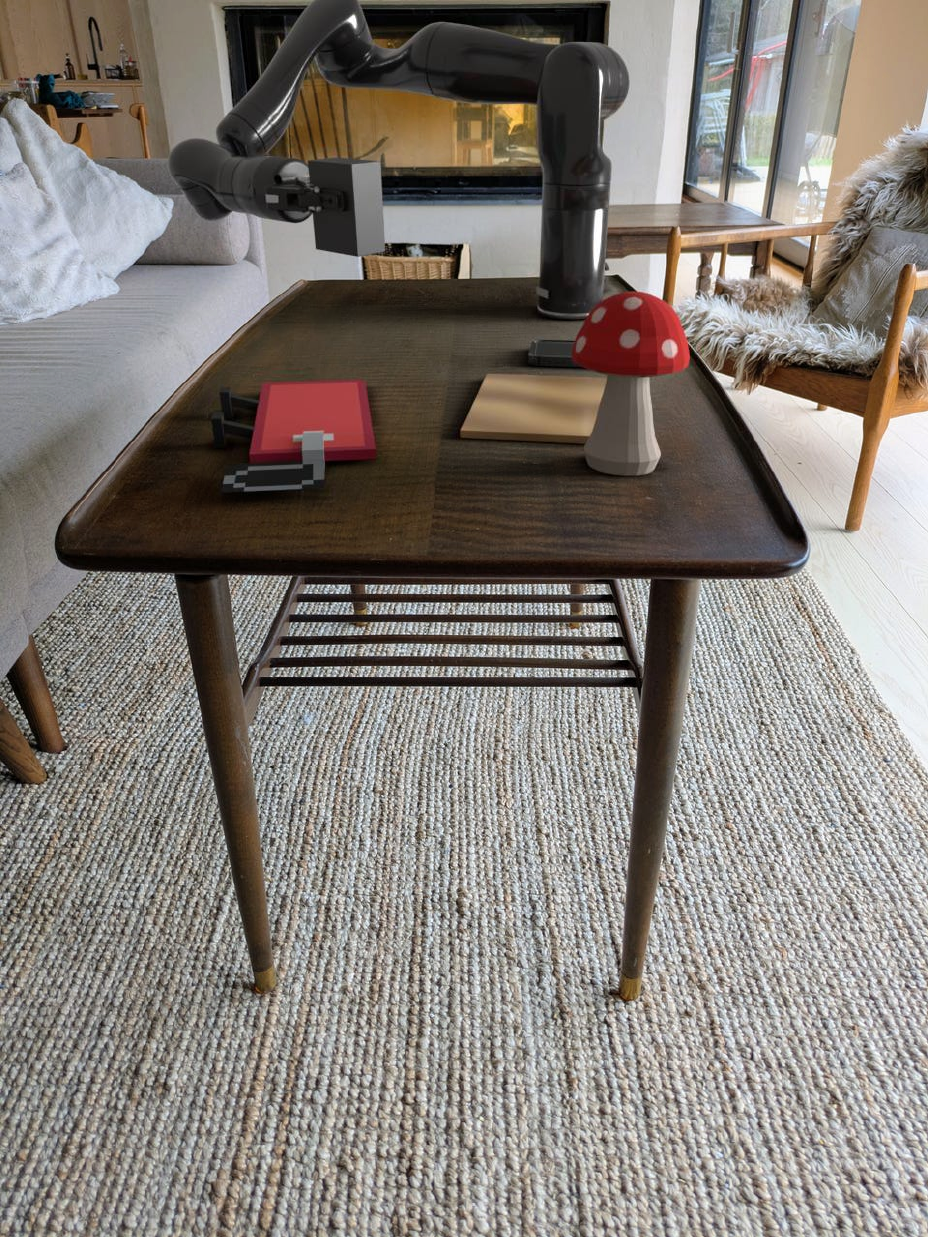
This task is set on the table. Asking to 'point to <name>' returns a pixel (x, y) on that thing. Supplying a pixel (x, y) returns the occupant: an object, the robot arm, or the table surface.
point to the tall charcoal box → (350, 206)
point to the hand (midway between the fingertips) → (361, 199)
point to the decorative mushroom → (628, 376)
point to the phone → (551, 353)
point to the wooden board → (535, 408)
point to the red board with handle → (296, 433)
